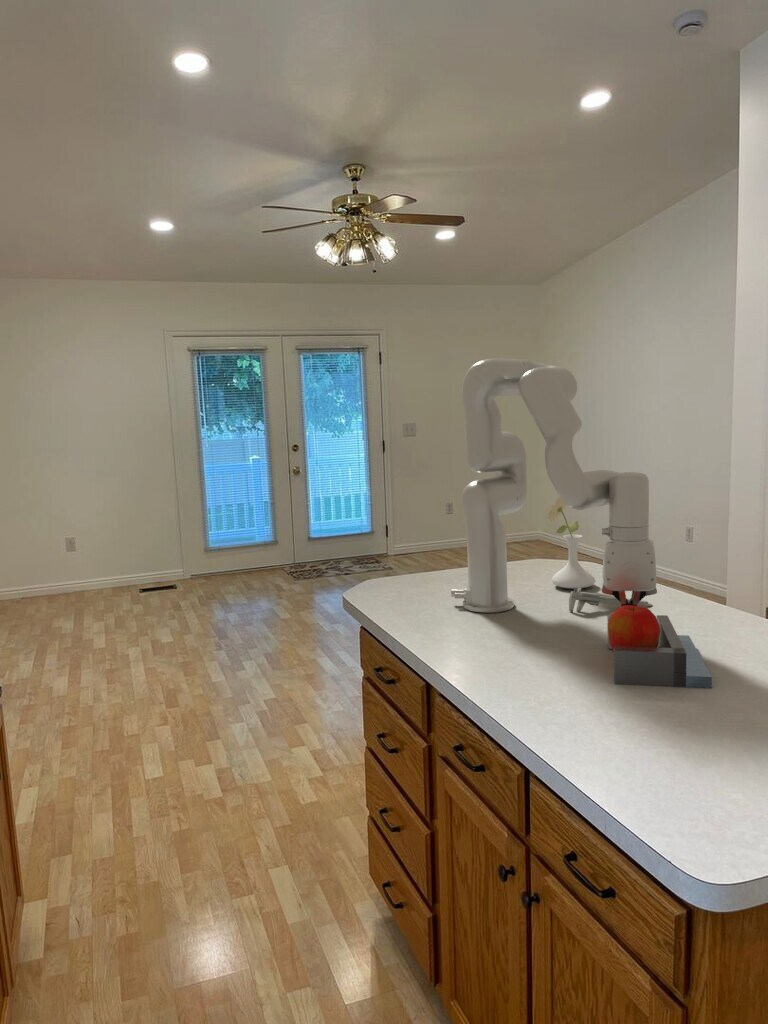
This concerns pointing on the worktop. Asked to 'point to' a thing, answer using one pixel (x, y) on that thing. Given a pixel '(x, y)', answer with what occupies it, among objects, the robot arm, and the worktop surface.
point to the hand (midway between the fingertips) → (628, 621)
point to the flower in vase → (570, 554)
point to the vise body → (662, 662)
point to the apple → (633, 627)
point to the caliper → (594, 600)
